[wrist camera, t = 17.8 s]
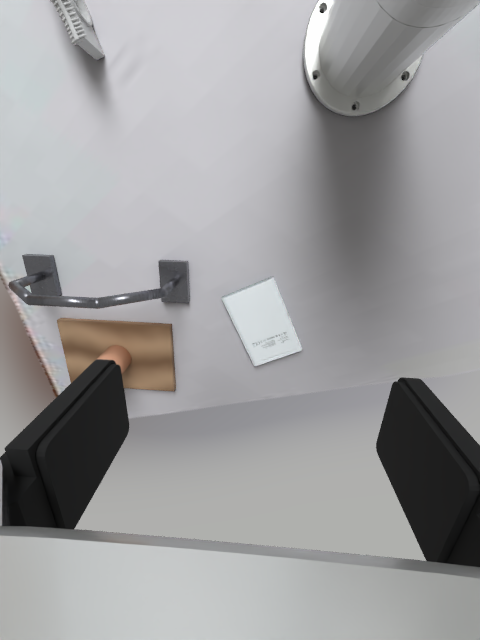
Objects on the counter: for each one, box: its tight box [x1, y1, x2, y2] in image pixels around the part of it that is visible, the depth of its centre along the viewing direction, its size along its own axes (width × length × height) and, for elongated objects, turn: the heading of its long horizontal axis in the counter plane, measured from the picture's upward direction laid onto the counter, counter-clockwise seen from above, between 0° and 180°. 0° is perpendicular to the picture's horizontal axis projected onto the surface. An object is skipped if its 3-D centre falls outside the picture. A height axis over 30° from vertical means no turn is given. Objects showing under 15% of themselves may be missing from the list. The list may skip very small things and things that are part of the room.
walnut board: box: [57, 318, 176, 391], centre depth 48 cm, size 12×18×1 cm, turn 88°
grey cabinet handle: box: [8, 254, 190, 309], centre depth 39 cm, size 6×24×12 cm, turn 88°
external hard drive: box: [222, 276, 302, 366], centre depth 45 cm, size 2×8×12 cm
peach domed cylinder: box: [97, 345, 132, 374], centre depth 45 cm, size 4×4×7 cm
